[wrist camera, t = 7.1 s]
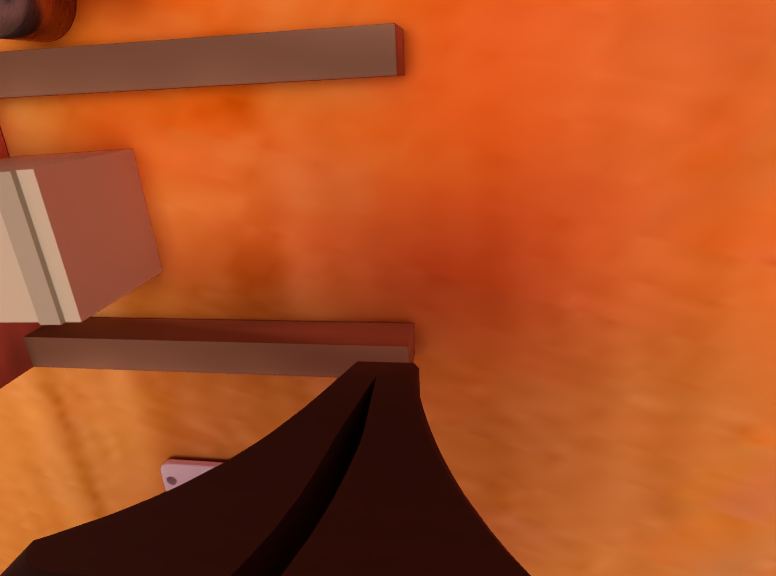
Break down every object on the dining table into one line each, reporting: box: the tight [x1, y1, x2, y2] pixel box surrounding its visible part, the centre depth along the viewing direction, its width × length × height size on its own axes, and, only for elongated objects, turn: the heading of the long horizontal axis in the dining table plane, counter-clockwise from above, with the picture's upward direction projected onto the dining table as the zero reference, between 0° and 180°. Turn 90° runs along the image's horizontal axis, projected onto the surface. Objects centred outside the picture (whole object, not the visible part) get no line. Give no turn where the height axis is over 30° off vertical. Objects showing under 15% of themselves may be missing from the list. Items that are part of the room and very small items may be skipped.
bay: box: [0, 23, 415, 388], centre depth 19 cm, size 12×17×4 cm
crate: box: [0, 149, 163, 325], centre depth 19 cm, size 5×5×5 cm
